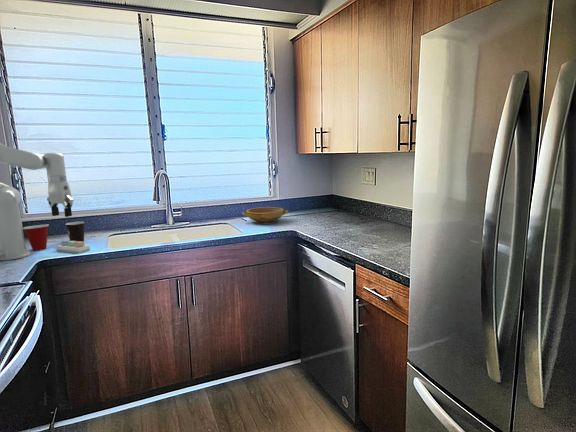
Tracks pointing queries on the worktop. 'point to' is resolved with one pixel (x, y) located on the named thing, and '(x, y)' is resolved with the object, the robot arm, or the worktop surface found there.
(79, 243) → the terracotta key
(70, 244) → the sage key
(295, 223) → the worktop surface
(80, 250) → the keypad
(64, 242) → the slate blue key
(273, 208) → the ceramic bowl
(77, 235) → the coffee mug
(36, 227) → the plastic cup
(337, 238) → the worktop surface
